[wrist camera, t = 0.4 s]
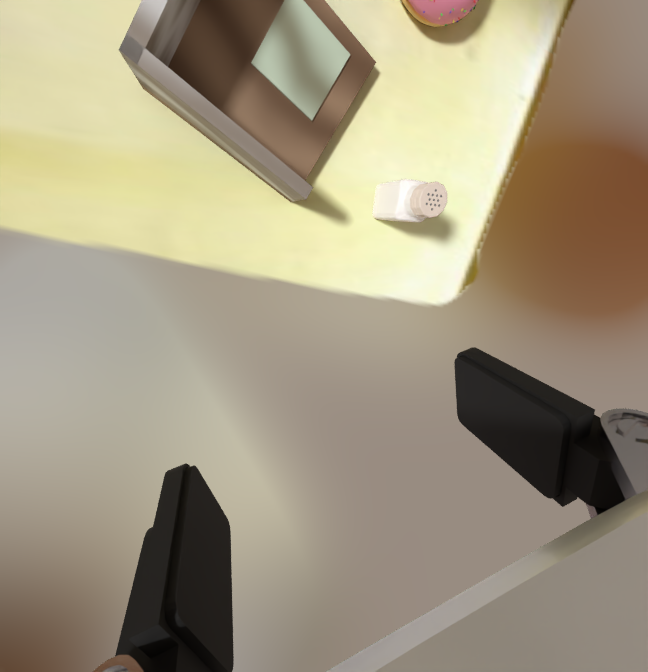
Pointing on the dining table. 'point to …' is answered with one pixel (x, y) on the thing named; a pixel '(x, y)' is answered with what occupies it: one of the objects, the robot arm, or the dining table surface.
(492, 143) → the dining table surface
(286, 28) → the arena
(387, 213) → the salt shaker
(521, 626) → the robot arm
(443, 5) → the doughnut
